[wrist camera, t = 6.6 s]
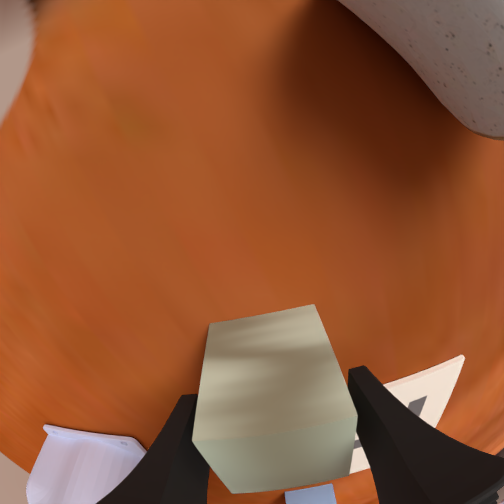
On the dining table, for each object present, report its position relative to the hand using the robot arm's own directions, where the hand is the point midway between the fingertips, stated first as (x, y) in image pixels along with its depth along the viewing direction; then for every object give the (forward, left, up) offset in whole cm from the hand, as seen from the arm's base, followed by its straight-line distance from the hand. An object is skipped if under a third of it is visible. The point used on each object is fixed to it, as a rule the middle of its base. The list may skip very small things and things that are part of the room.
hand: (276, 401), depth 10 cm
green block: (0, 0, -3) cm, 3 cm away
